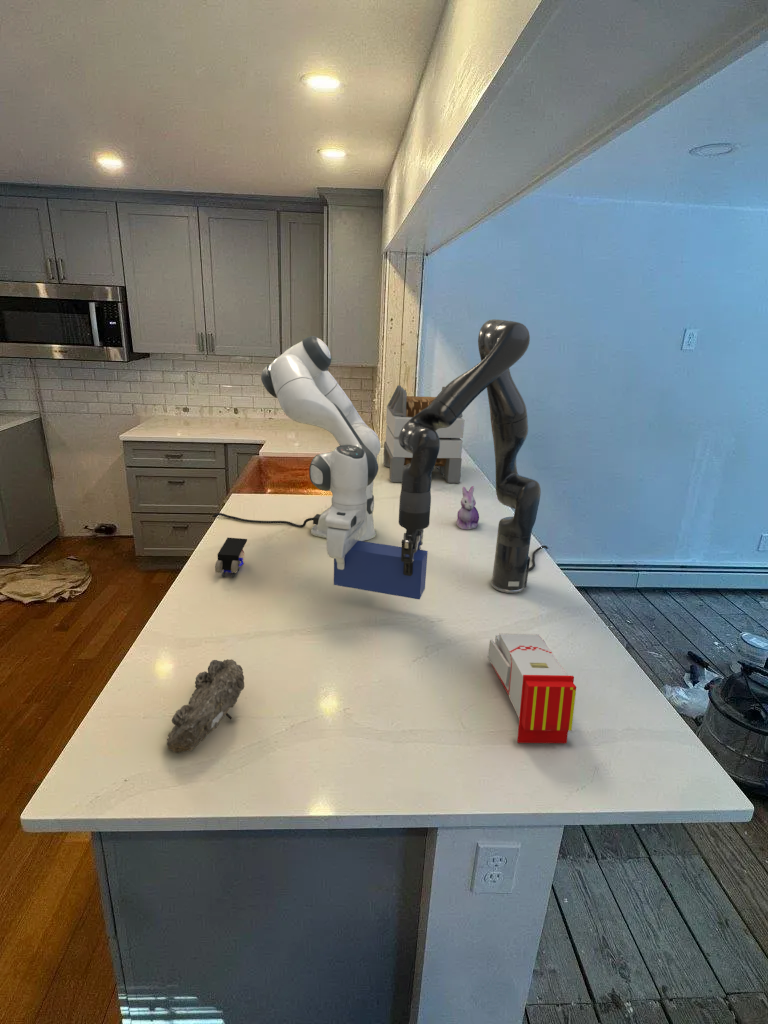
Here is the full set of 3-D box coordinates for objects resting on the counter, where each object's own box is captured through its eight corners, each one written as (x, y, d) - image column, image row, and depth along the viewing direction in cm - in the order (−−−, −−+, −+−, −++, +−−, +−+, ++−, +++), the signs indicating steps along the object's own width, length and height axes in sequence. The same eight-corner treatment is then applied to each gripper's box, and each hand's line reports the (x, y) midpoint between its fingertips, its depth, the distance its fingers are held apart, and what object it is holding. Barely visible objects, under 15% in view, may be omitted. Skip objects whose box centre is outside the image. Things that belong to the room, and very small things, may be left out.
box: (333, 584, 147) (334, 547, 143) (341, 574, 152) (342, 538, 149) (419, 599, 141) (422, 560, 137) (424, 588, 147) (427, 550, 143)
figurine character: (238, 584, 162) (249, 557, 175) (236, 562, 158) (247, 536, 172) (215, 584, 161) (227, 556, 175) (212, 561, 158) (225, 535, 171)
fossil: (192, 660, 117) (244, 628, 112) (224, 691, 120) (276, 661, 115) (142, 746, 98) (202, 712, 93) (182, 779, 101) (242, 748, 96)
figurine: (464, 532, 204) (468, 492, 199) (449, 522, 212) (452, 484, 207) (486, 528, 208) (490, 489, 203) (469, 519, 216) (473, 481, 211)
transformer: (382, 463, 289) (386, 382, 275) (445, 464, 293) (451, 384, 279) (390, 482, 257) (394, 392, 243) (460, 483, 261) (468, 394, 247)
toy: (536, 617, 130) (585, 683, 100) (531, 671, 132) (578, 750, 103) (483, 616, 129) (518, 682, 100) (479, 670, 132) (511, 749, 103)
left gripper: (351, 497, 152) (349, 544, 157) (322, 522, 134) (321, 575, 138) (373, 500, 151) (371, 548, 155) (347, 526, 132) (345, 579, 137)
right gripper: (423, 518, 130) (419, 584, 135) (435, 499, 143) (431, 560, 148) (392, 514, 131) (389, 579, 137) (406, 496, 144) (403, 556, 150)
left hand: (347, 561), depth 147 cm, fingers open, 8 cm apart
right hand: (411, 569), depth 143 cm, fingers closed on box, 6 cm apart
